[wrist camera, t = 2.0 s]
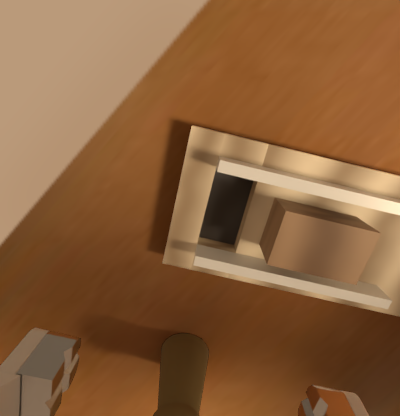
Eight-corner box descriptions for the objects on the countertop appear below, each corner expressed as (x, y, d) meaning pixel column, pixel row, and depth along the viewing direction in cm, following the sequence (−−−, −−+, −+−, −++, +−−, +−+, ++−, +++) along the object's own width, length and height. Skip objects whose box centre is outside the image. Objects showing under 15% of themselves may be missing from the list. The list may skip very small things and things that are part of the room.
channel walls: (418, 204, 25) (440, 213, 23) (372, 293, 28) (387, 309, 26) (219, 155, 24) (220, 160, 22) (194, 252, 28) (193, 265, 25)
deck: (528, 207, 27) (553, 213, 25) (455, 319, 31) (471, 332, 29) (193, 125, 26) (191, 125, 24) (165, 254, 30) (162, 263, 28)
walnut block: (356, 216, 26) (381, 233, 22) (336, 261, 27) (356, 285, 23) (274, 197, 25) (285, 211, 22) (259, 244, 27) (266, 264, 23)
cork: (159, 367, 35) (137, 472, 25) (162, 330, 33) (140, 426, 23) (205, 373, 35) (203, 480, 25) (211, 336, 33) (212, 435, 23)
